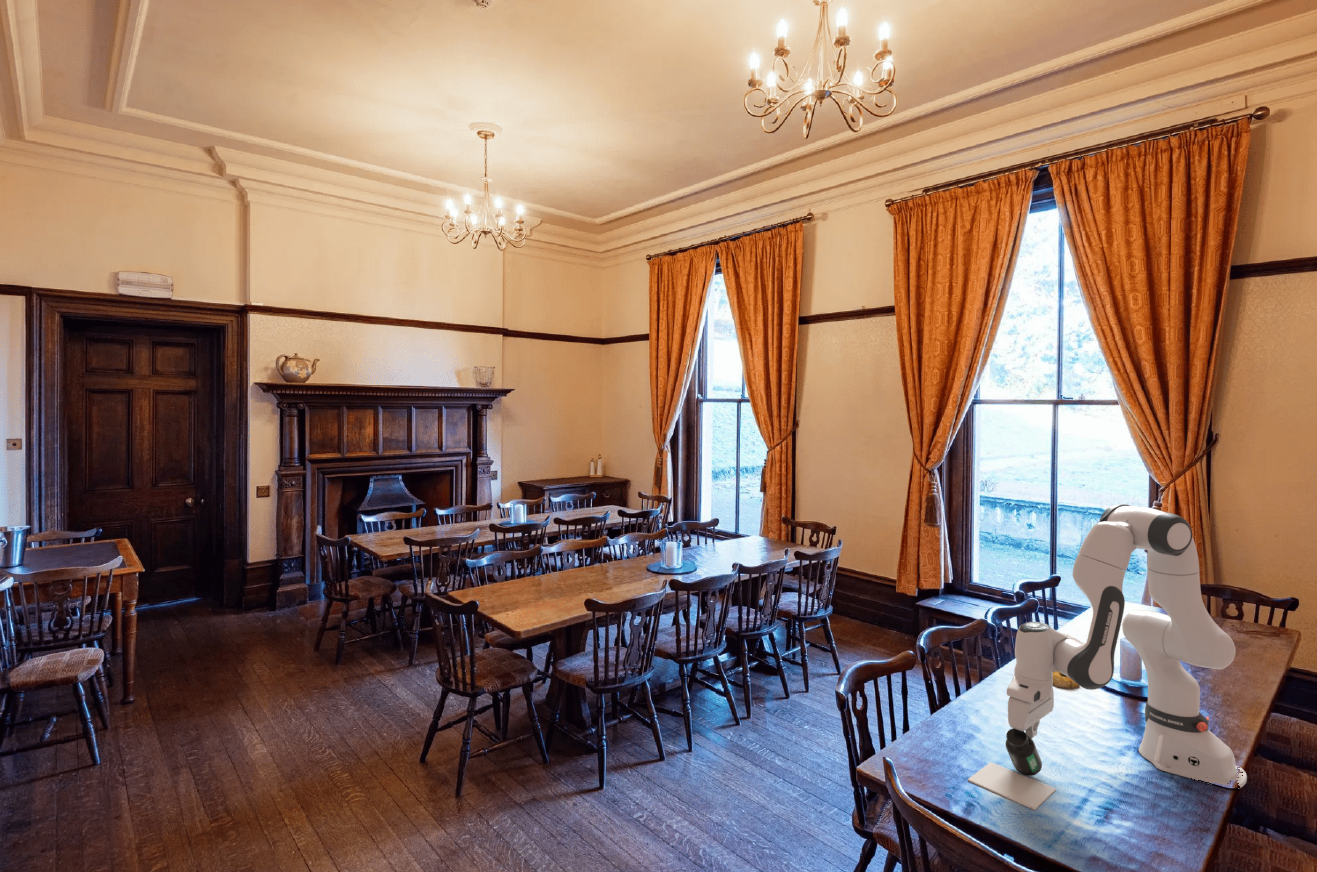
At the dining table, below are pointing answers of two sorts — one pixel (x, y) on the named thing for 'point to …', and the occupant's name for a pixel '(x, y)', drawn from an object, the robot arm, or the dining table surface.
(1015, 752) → the supplement bottle
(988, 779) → the mat
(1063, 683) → the bagel
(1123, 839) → the dining table surface
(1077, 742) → the dining table surface
